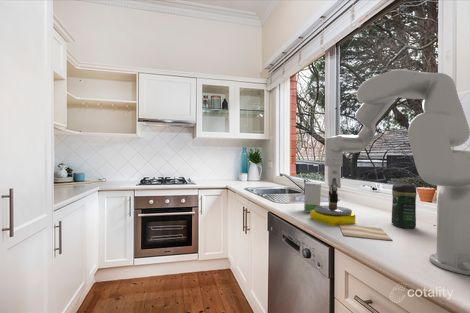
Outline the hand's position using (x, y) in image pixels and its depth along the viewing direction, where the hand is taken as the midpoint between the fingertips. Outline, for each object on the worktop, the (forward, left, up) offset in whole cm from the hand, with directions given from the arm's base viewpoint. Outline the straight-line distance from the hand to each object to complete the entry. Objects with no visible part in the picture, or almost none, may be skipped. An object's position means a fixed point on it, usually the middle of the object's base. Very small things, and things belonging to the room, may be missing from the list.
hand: (332, 200), depth 118 cm
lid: (0, 0, -5) cm, 5 cm away
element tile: (0, 0, -10) cm, 10 cm away
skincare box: (+17, +9, -9) cm, 21 cm away
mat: (-16, -10, -9) cm, 21 cm away
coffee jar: (+1, -29, -9) cm, 30 cm away
